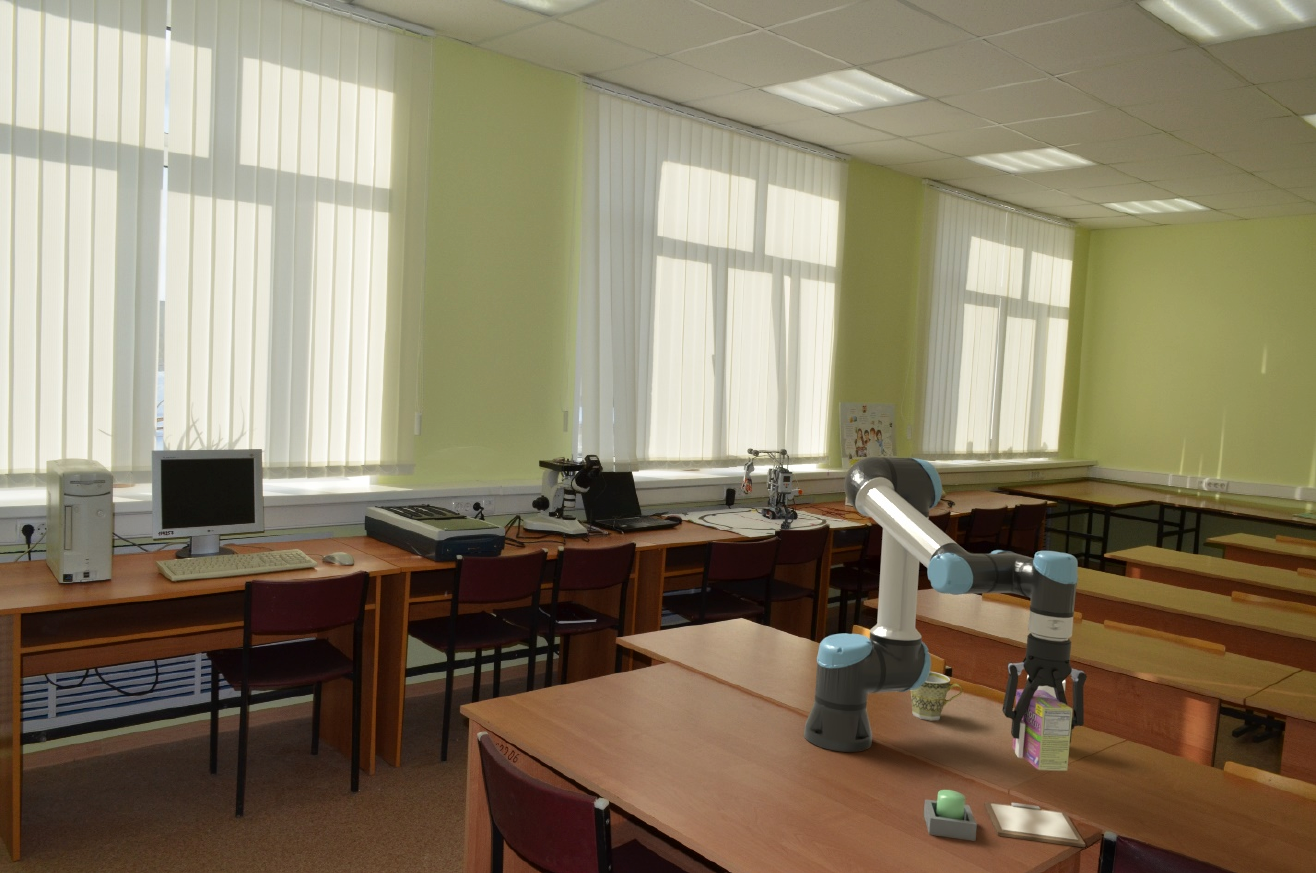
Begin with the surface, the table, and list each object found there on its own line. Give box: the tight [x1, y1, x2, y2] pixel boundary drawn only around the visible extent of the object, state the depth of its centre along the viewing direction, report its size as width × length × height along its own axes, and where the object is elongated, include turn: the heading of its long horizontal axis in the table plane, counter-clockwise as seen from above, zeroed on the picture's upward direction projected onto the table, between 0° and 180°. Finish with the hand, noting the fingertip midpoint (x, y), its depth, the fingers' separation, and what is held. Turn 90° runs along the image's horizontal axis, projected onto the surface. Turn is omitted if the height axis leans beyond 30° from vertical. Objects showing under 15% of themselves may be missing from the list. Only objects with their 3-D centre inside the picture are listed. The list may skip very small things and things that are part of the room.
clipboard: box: [984, 801, 1086, 848], centre depth 172 cm, size 15×13×1 cm
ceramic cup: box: [909, 670, 963, 721], centre depth 229 cm, size 13×10×10 cm
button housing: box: [923, 799, 978, 842], centre depth 169 cm, size 8×8×3 cm
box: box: [1012, 688, 1073, 772], centre depth 171 cm, size 10×6×12 cm, turn 4°
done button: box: [936, 789, 966, 820], centre depth 169 cm, size 5×5×4 cm
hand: (1038, 757), depth 172 cm, fingers closed on box, 6 cm apart
